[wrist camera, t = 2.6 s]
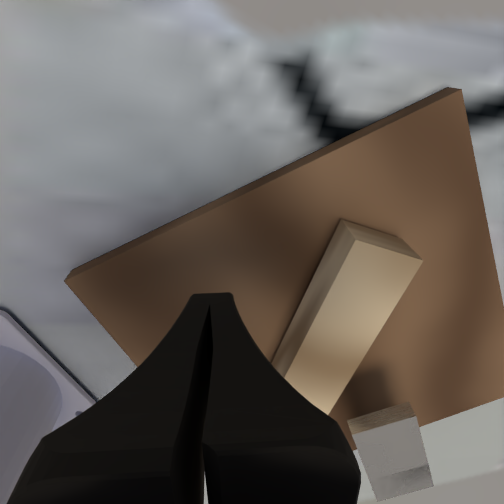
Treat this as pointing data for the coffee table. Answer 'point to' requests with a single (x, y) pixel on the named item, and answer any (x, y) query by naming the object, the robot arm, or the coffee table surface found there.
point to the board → (313, 249)
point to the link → (344, 311)
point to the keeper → (392, 451)
